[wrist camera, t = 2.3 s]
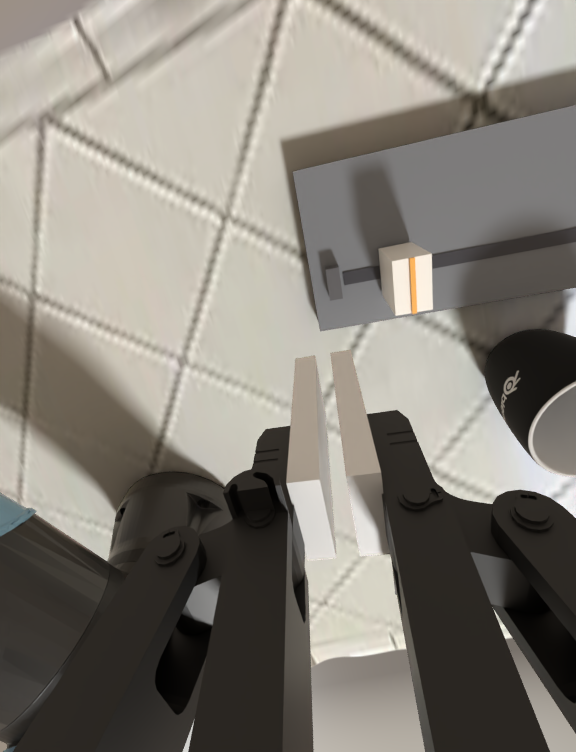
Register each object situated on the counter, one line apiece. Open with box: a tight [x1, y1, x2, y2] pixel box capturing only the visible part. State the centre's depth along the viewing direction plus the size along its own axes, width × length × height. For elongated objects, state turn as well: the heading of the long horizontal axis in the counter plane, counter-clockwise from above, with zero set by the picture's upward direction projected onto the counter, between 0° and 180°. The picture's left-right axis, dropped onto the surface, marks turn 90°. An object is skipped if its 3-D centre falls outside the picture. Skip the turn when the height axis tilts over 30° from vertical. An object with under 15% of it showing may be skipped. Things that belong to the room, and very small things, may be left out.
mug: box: [485, 329, 576, 477], centre depth 29 cm, size 12×9×10 cm
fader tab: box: [378, 242, 433, 316], centre depth 25 cm, size 2×4×5 cm, turn 12°
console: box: [293, 105, 576, 331], centre depth 26 cm, size 31×12×4 cm, turn 102°
